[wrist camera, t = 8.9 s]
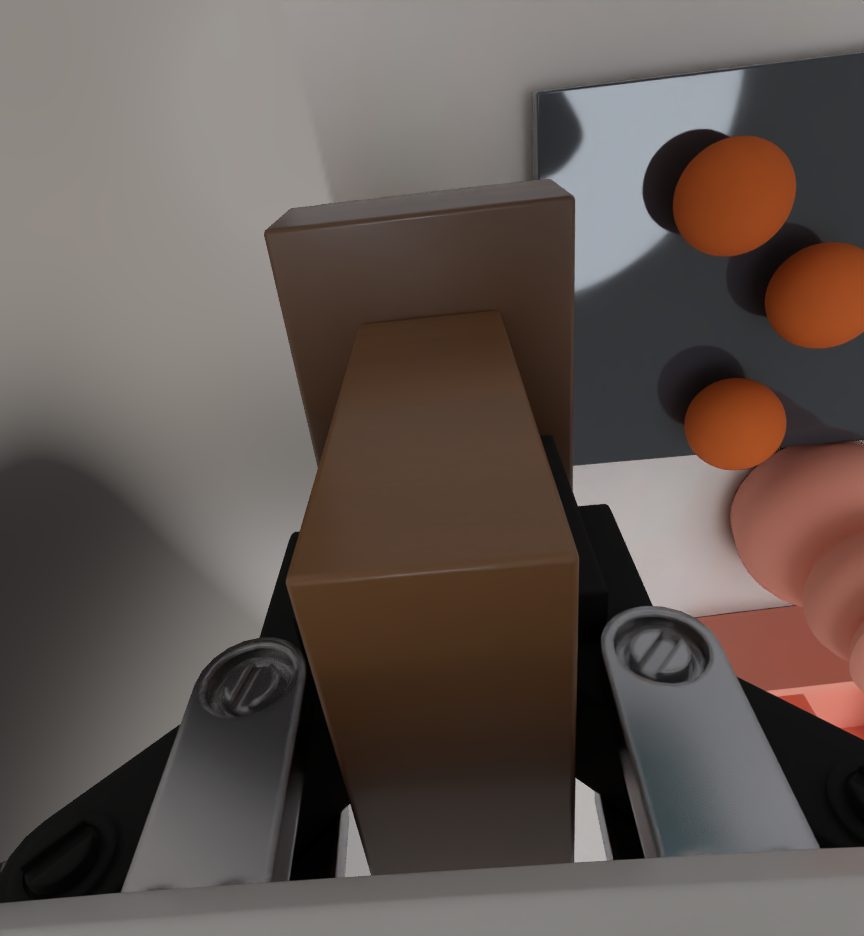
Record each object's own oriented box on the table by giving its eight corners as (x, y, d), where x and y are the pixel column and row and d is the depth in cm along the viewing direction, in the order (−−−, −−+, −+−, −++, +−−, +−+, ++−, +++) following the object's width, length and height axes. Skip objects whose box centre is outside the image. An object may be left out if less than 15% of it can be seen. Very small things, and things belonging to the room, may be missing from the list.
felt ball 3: (756, 238, 19) (806, 262, 17) (858, 227, 19) (925, 249, 16) (741, 333, 21) (785, 369, 18) (836, 324, 20) (893, 358, 18)
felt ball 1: (662, 138, 18) (702, 147, 15) (773, 125, 18) (831, 132, 15) (655, 248, 19) (689, 274, 17) (756, 238, 19) (806, 262, 17)
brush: (303, 194, 12) (46, 413, 4) (538, 167, 12) (780, 339, 4) (380, 587, 17) (336, 1040, 9) (545, 574, 17) (654, 1025, 9)
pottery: (866, 724, 32) (1018, 948, 24) (677, 744, 33) (761, 967, 25) (953, 410, 23) (1250, 595, 15) (689, 449, 24) (829, 645, 16)
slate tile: (531, 91, 18) (536, 91, 17) (971, 38, 17) (999, 35, 17) (539, 455, 24) (543, 469, 23) (864, 426, 24) (880, 438, 23)
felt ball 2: (676, 368, 21) (709, 407, 19) (767, 359, 21) (814, 397, 19) (668, 446, 23) (698, 491, 20) (753, 438, 23) (795, 483, 20)
